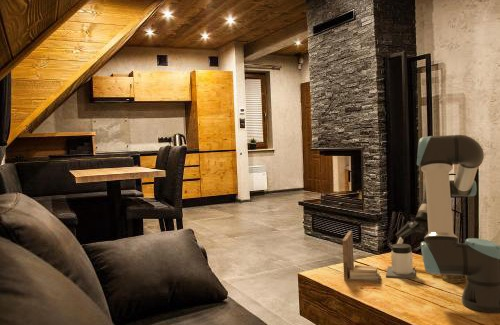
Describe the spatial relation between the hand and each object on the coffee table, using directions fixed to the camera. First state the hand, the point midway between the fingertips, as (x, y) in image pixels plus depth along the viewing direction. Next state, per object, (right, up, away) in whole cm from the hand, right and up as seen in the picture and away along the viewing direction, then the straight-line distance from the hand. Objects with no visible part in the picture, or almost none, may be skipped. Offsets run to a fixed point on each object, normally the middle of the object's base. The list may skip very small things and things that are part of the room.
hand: (409, 252), depth 199 cm
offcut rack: (-22, -9, -5) cm, 25 cm away
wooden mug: (+13, -8, -20) cm, 25 cm away
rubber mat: (-6, -8, -5) cm, 11 cm away
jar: (-5, -8, -6) cm, 11 cm away
